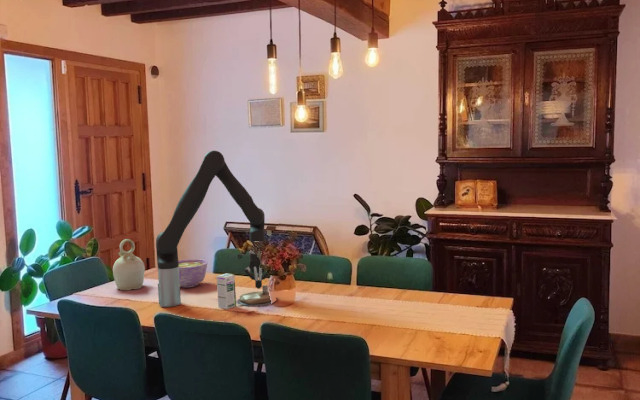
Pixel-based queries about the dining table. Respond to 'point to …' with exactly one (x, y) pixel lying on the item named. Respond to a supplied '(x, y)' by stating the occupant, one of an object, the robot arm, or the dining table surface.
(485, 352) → the dining table surface
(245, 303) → the base plate
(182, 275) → the bowl of food
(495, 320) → the dining table surface
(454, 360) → the dining table surface
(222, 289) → the syrup box
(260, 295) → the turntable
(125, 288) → the jug
